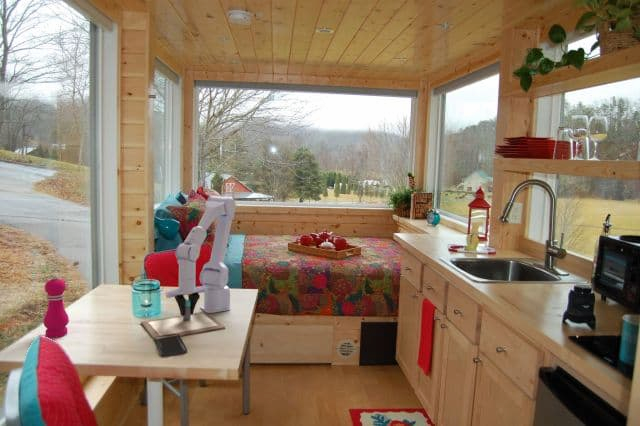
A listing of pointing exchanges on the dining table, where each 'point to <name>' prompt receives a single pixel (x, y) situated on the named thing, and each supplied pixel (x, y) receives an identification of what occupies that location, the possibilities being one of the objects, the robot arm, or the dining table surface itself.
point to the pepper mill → (55, 308)
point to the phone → (170, 345)
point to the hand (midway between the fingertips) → (186, 314)
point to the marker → (187, 310)
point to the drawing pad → (182, 325)
